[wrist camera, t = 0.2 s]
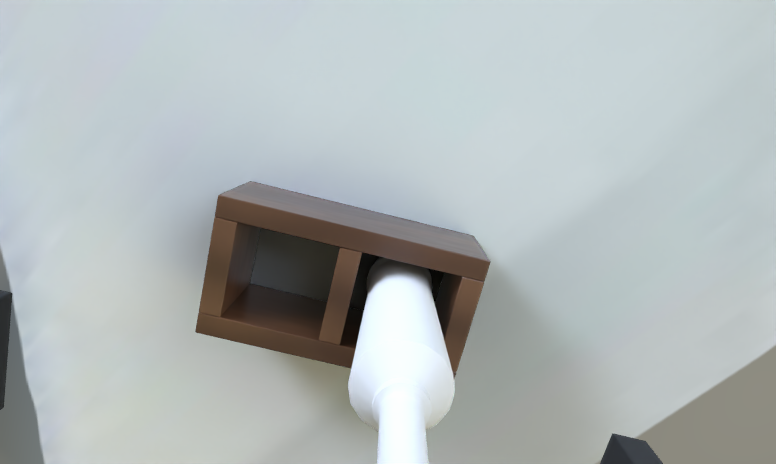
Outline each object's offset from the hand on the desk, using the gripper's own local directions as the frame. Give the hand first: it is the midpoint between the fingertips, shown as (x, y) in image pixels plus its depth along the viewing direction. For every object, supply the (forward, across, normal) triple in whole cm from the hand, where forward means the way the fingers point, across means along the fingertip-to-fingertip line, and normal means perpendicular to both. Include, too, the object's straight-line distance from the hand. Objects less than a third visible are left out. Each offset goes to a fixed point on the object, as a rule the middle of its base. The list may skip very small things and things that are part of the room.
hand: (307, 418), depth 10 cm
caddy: (+28, 0, -6) cm, 29 cm away
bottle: (+28, +4, -6) cm, 29 cm away
